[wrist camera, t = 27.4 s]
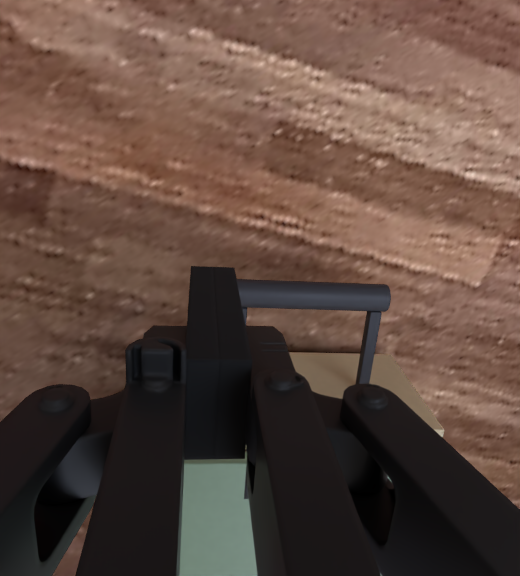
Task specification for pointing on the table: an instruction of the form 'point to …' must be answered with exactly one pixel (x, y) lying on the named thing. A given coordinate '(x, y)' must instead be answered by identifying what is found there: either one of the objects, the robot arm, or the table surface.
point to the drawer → (339, 366)
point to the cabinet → (216, 520)
